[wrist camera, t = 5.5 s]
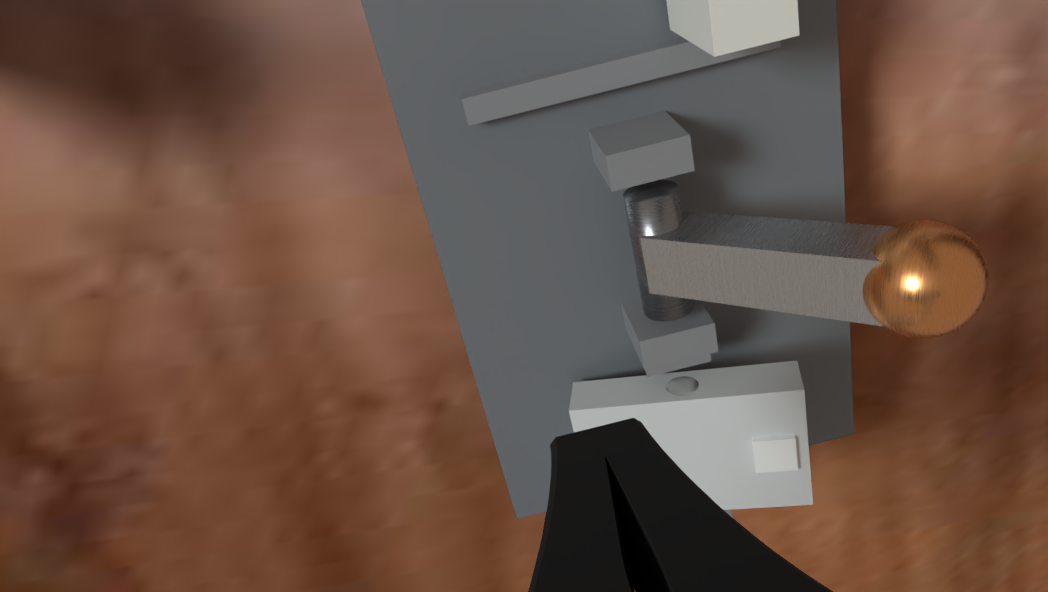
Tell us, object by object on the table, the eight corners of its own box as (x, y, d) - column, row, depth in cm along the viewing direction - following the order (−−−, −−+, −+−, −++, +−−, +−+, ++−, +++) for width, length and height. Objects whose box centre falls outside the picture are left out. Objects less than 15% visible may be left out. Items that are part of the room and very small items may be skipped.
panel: (825, 410, 26) (889, 495, 22) (514, 488, 26) (529, 586, 22) (788, -192, 18) (878, -207, 15) (346, -80, 18) (328, -69, 15)
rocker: (805, 472, 22) (813, 509, 21) (597, 486, 23) (594, 521, 22) (796, 360, 20) (805, 393, 19) (573, 382, 22) (567, 414, 20)
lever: (667, 282, 21) (996, 325, 16) (623, 328, 19) (970, 389, 15) (650, 169, 19) (1004, 184, 15) (601, 210, 18) (976, 239, 13)
